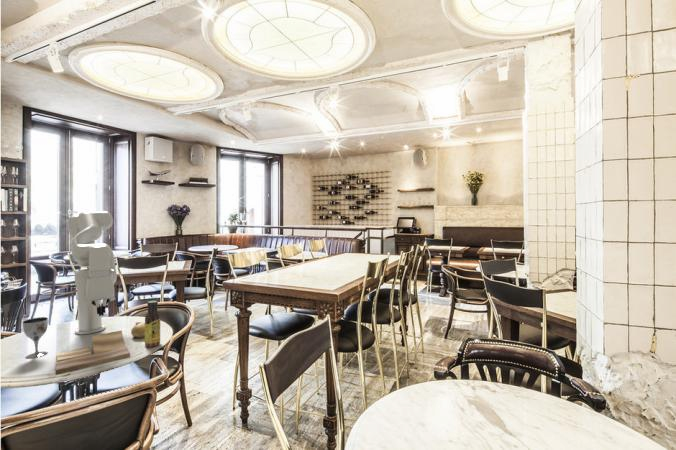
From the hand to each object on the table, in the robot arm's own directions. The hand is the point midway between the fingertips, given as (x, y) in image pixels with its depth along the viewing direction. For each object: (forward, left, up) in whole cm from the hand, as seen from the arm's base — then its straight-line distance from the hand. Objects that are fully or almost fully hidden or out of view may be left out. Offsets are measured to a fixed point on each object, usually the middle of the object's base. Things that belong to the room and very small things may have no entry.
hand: (101, 315), depth 149 cm
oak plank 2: (+3, +2, -13) cm, 13 cm away
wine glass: (-10, -22, -15) cm, 29 cm away
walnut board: (+12, -4, -15) cm, 20 cm away
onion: (-6, +16, -15) cm, 23 cm away
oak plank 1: (+2, -10, -15) cm, 18 cm away
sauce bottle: (+10, +18, -15) cm, 26 cm away
